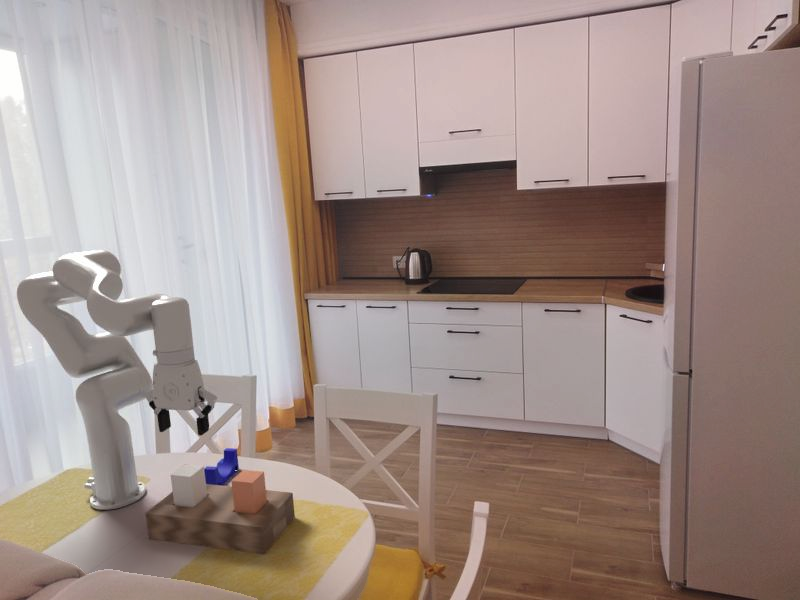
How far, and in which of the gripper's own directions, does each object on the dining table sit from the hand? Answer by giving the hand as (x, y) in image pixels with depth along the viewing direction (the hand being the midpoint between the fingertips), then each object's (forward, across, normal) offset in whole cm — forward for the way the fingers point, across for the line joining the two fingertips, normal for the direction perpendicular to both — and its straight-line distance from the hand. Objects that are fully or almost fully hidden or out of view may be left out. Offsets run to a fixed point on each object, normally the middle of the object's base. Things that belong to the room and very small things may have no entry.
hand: (184, 431), depth 129 cm
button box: (+22, +8, 0) cm, 23 cm away
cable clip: (+23, -6, +20) cm, 31 cm away
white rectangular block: (+17, 0, 0) cm, 17 cm away
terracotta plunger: (+16, +15, 0) cm, 22 cm away
